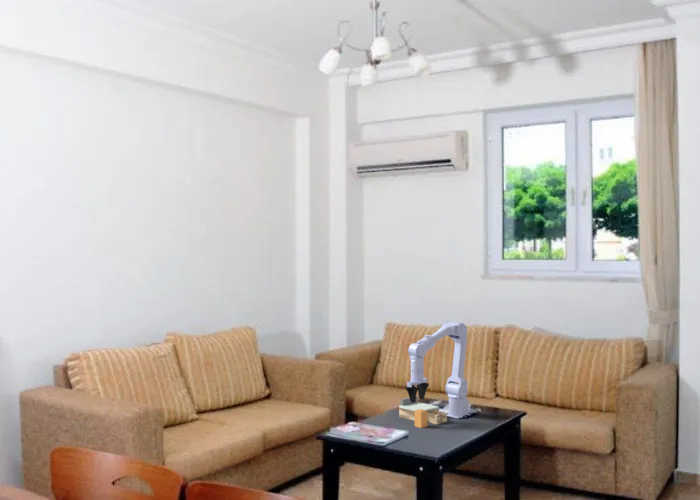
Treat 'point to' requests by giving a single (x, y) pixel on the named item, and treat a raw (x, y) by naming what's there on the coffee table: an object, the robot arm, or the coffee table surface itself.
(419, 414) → the orange rectangular block
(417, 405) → the lid
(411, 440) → the coffee table surface
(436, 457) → the coffee table surface
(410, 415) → the wooden tray
